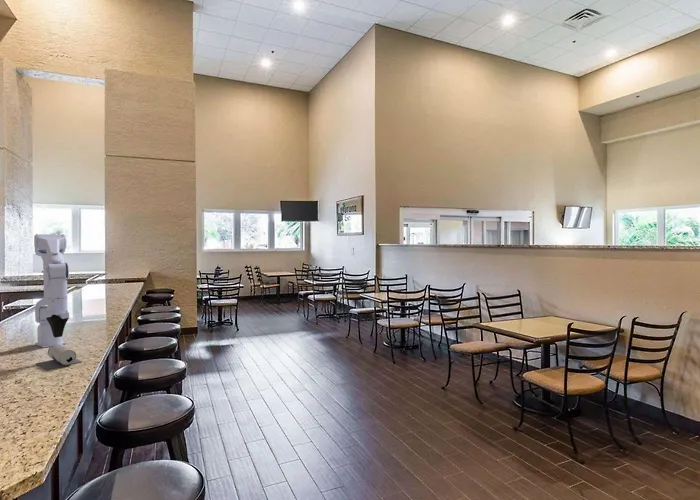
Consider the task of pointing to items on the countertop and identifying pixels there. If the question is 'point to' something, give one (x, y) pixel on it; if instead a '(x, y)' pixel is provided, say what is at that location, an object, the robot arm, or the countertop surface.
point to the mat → (54, 364)
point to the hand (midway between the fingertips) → (57, 336)
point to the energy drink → (62, 354)
